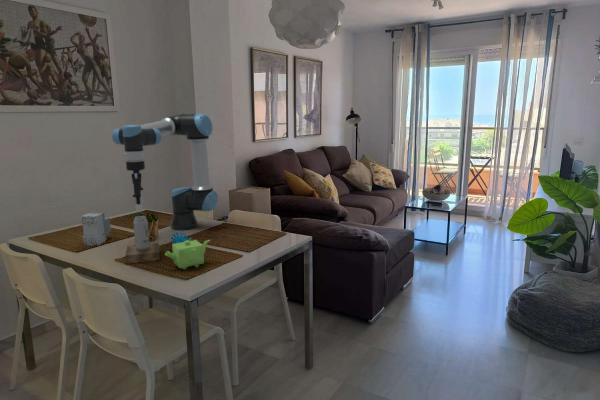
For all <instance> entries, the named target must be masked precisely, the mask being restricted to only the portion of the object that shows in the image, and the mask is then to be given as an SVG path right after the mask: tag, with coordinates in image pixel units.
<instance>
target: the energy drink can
mask: <svg viewBox="0 0 600 400" xmlns="http://www.w3.org/2000/svg"><path fill="white" fill-rule="evenodd" d="M148 221H149V220H148V218H147V216H145V215H138V216H135V217H134V219H133V233H134V244H135V245H136V249H137V250H139V251H143V250H147V249H149V247H150V244H151V243H150V232H149V222H148Z"/></svg>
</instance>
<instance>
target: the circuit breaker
mask: <svg viewBox="0 0 600 400" xmlns="http://www.w3.org/2000/svg"><path fill="white" fill-rule="evenodd" d="M80 218H81V219H80V222H81V225H82V230H83V236H82V239H83V243H84V244H83V246H94V245H96V244H97V245H98V246H101V243H102V244H103V242H104V243H105V241H106V240H107V241H108V238H107V235H108V234H109V233H111V232H112V228H111V220H110V217H105V213H104V212H89V213H86V214H83V215H81V216H80ZM107 241H106V242H107ZM85 244H87V245H85ZM93 244H94V245H93Z"/></svg>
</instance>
